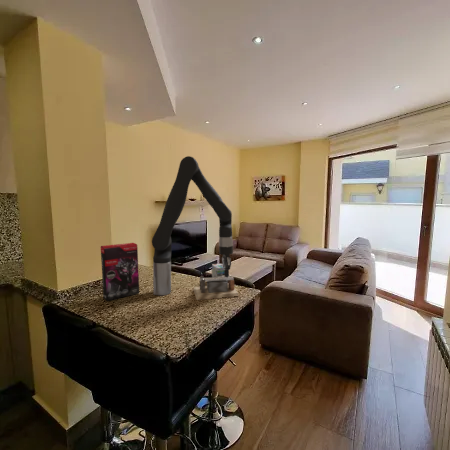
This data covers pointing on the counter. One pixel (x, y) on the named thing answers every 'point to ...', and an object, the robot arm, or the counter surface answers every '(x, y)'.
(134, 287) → the graphics card box
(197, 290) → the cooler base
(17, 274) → the counter surface
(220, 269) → the light bulb box
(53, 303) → the counter surface
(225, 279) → the strap
